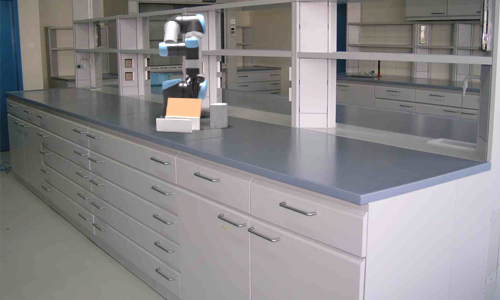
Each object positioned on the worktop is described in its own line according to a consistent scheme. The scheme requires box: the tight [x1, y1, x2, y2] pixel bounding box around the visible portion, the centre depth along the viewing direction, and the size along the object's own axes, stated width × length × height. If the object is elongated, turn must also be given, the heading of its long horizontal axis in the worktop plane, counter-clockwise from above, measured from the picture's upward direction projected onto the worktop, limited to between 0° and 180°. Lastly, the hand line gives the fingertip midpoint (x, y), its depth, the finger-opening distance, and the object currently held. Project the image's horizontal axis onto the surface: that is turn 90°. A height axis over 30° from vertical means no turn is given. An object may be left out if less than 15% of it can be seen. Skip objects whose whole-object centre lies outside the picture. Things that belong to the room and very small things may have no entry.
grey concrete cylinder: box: [209, 102, 229, 129], centre depth 295 cm, size 10×10×12 cm
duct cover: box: [166, 98, 204, 118], centre depth 290 cm, size 10×20×1 cm
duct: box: [155, 116, 201, 134], centre depth 285 cm, size 10×20×6 cm, turn 69°
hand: (194, 110), depth 301 cm, fingers closed
